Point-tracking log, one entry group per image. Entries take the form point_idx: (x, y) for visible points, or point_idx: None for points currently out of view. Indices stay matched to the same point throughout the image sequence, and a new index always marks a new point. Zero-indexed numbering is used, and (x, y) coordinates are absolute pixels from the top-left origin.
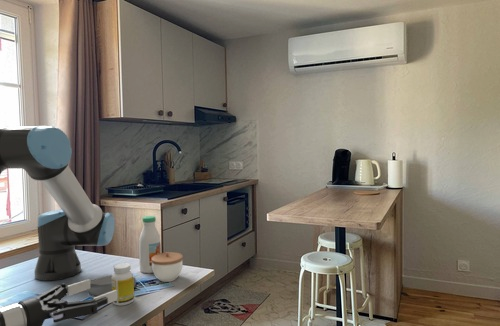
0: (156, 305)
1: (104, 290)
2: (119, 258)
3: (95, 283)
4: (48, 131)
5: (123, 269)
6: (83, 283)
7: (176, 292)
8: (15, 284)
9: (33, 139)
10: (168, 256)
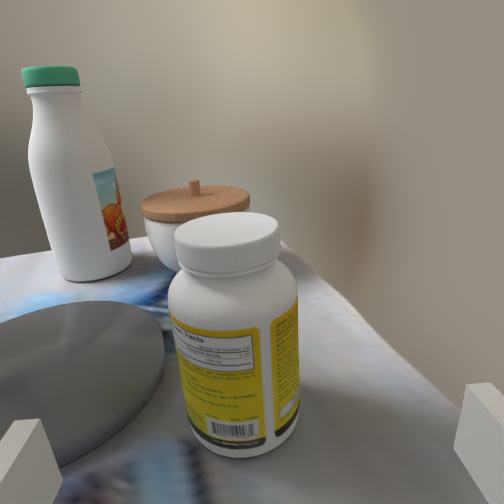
0: (391, 351)
1: (70, 416)
2: None
3: None
4: None
5: (277, 239)
6: (4, 501)
7: (324, 286)
8: None
9: None
10: (200, 194)
